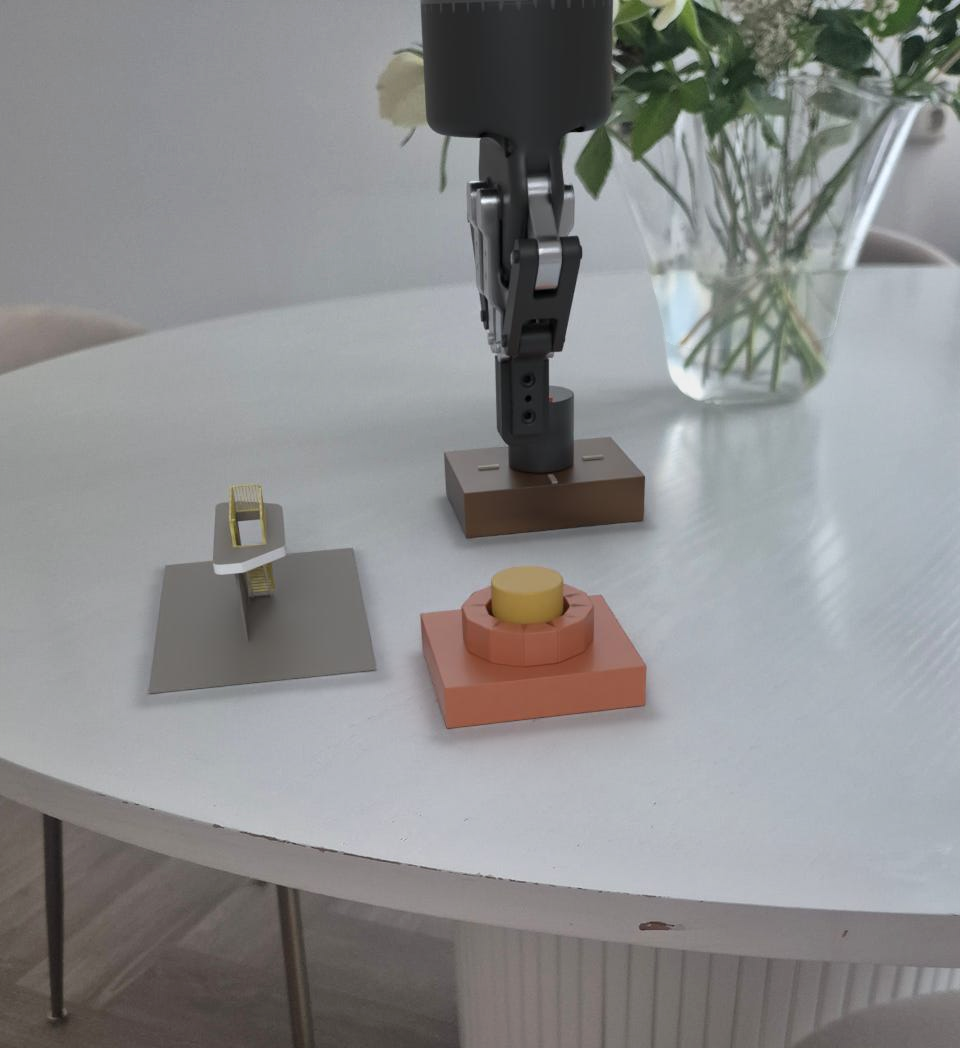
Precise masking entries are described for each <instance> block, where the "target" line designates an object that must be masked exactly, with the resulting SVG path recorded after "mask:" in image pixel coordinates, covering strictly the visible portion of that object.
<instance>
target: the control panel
mask: <svg viewBox="0 0 960 1048" xmlns="http://www.w3.org/2000/svg"><path fill="white" fill-rule="evenodd" d="M443 461H444V463H443V464H444V478H445V479H444V481H445V494H446V496H447V498H448V500H449V503H450V505H451V507H452V510H453V512H454V514H455V516H456V518H457V520H458V524H459V525H460V527H461V530H462V531H463V534H464V536H465V538H467V539H469V538H478V537H489V536H498V535H508V534H519V533H530V532H538V531H548V530H549V531H550V530H559V529H560V530H561V529H569V528H570V529H571V528H579V527H590V526H600V525H610V524H621V523H630V522H639V521H644V520H645V497H646V496H645V494H646V493H645V492H646V489H645V488H646V475H645V474H644V473H643V472H642V471H641V469H639V467H637V465H636V464H635V463H634V462H633V461H632V460H631V458H630V457H629V456H628V455H627V454H626V452H624V450H623V449H622V448H621V447H620V446H619V445H618V443H617V442H616V441H615V440H614V439H613V437H611V436H604V437H602V436H601V437H593V438H581V439H574V462H573V464H572V465H571V466H570V467H568V468H566V469H563V470H559V471H555V472H547V473H531V472H523V471H519V470H516V469H513V468H512V467H510V465H509V460H508V445H505V446H504V445H503V446H494V447H493V446H492V447H483V448H471V449H460V450H449V451H444V452H443Z"/></svg>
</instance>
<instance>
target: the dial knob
mask: <svg viewBox="0 0 960 1048" xmlns="http://www.w3.org/2000/svg"><path fill="white" fill-rule="evenodd" d="M574 440H575V392H574V391H573V390H572V389H570V388H567V387H564V386H559V385H558V386H557V385H549V436H548V438H547V439H546V441H544V442H543V443H540V444H530V445H518V446H509V445H507V446H508V460H509V465H510V467H512V468H513V469H516V470H519V471H523V472H531V473H547V472H555V471H559V470H563V469H566V468H568V467H570V466H571V465H572V464H573V462H574Z"/></svg>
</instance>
